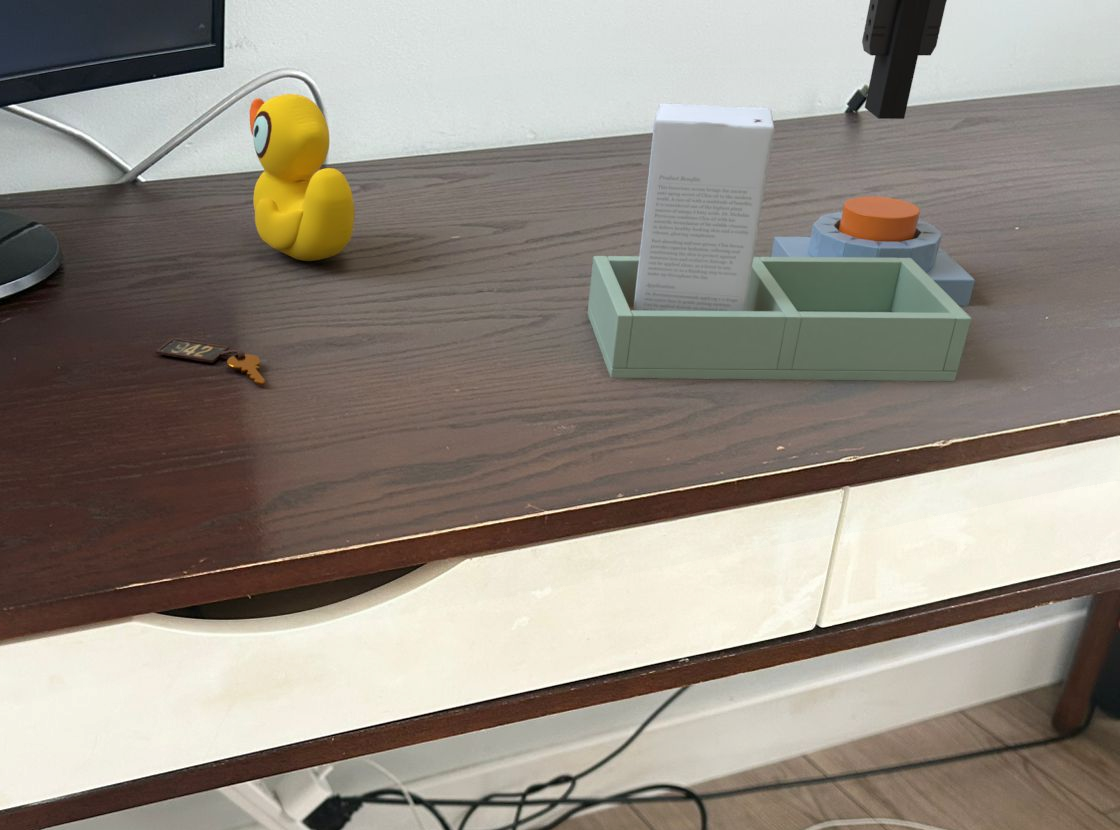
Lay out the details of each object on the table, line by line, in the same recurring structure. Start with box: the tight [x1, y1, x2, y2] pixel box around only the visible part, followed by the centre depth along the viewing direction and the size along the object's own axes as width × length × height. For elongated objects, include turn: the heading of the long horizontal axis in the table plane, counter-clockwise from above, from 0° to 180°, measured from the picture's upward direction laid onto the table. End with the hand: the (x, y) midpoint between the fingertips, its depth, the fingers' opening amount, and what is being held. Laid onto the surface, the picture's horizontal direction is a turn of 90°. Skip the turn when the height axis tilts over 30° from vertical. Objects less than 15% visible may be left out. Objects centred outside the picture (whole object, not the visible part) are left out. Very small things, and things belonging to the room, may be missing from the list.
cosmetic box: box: [633, 102, 775, 311], centre depth 74 cm, size 6×4×12 cm
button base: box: [770, 210, 976, 307], centre depth 85 cm, size 10×8×4 cm
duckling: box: [249, 93, 356, 262], centre depth 89 cm, size 11×5×10 cm, turn 29°
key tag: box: [155, 337, 266, 386], centre depth 76 cm, size 8×3×1 cm, turn 53°
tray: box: [587, 255, 972, 382], centre depth 77 cm, size 18×10×4 cm, turn 88°
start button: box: [839, 196, 921, 242], centre depth 84 cm, size 4×4×2 cm
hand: (884, 112), depth 81 cm, fingers closed
